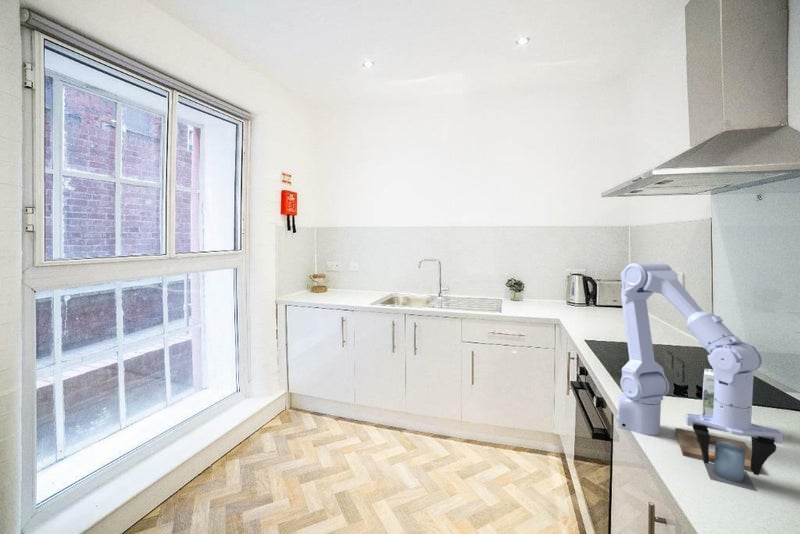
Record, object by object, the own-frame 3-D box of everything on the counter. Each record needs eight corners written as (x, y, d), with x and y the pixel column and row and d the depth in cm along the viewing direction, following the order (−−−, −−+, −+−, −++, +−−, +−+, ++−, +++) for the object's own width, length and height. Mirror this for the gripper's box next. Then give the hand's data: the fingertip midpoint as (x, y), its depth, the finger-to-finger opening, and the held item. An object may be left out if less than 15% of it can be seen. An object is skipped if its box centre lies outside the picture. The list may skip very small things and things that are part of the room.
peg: (716, 477, 73) (718, 449, 73) (711, 466, 77) (713, 439, 77) (746, 485, 71) (748, 456, 71) (739, 472, 75) (741, 445, 75)
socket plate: (682, 459, 81) (683, 450, 81) (675, 435, 91) (675, 427, 91) (761, 478, 75) (761, 468, 74) (743, 450, 85) (744, 441, 85)
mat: (710, 483, 73) (710, 479, 73) (702, 465, 79) (703, 461, 79) (757, 496, 69) (757, 491, 69) (745, 475, 75) (746, 471, 75)
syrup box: (729, 424, 97) (732, 371, 96) (729, 432, 92) (732, 378, 92) (701, 417, 101) (704, 367, 100) (701, 425, 96) (703, 372, 95)
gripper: (690, 401, 73) (688, 465, 74) (790, 418, 66) (786, 489, 67) (684, 389, 80) (682, 449, 80) (776, 404, 72) (772, 469, 73)
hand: (729, 466), depth 74 cm, fingers open, 7 cm apart
